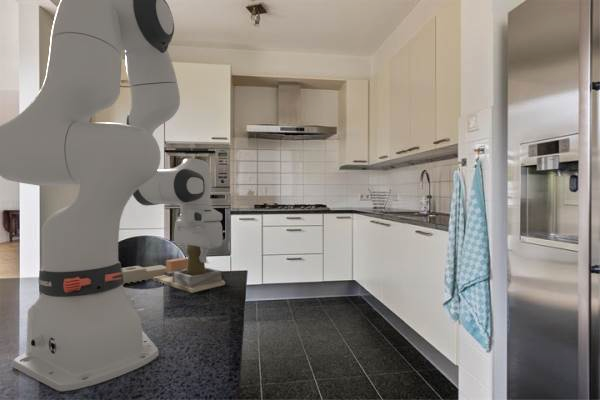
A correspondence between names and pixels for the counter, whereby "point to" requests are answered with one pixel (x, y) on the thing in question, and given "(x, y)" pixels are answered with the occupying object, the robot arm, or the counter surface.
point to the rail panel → (191, 280)
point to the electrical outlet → (142, 273)
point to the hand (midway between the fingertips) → (196, 260)
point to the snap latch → (176, 264)
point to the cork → (194, 261)
